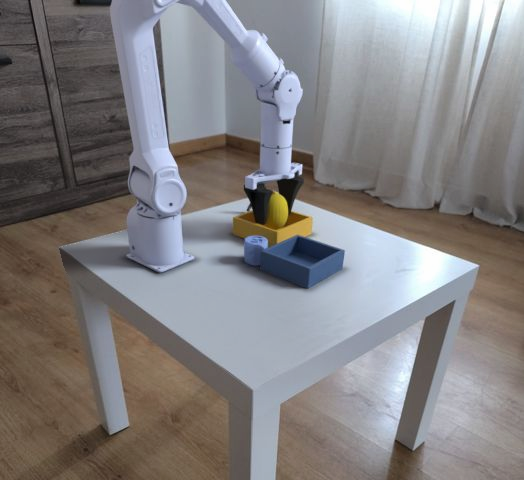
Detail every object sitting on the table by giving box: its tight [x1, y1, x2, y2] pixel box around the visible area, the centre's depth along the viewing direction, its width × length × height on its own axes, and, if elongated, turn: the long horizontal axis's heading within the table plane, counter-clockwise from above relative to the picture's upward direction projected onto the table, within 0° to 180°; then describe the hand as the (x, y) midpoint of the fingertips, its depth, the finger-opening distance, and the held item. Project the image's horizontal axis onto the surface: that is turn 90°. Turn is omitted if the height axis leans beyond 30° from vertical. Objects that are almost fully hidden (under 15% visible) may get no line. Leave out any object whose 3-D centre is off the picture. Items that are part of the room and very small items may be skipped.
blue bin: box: [260, 235, 346, 289], centre depth 84 cm, size 10×10×4 cm
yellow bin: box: [232, 209, 314, 247], centre depth 97 cm, size 11×11×4 cm
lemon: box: [264, 190, 288, 230], centre depth 95 cm, size 6×6×8 cm
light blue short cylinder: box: [243, 236, 268, 267], centre depth 86 cm, size 4×4×4 cm
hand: (273, 218), depth 96 cm, fingers open, 7 cm apart
